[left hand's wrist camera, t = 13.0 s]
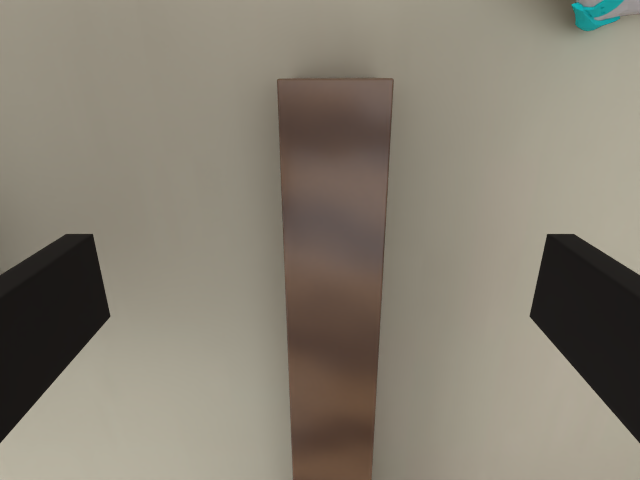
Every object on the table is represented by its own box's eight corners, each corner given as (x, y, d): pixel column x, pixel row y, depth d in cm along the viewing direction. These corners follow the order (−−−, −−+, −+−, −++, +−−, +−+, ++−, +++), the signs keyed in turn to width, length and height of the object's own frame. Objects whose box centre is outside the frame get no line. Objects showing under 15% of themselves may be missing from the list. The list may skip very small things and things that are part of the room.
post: (291, 78, 28) (276, 79, 20) (376, 77, 28) (393, 78, 20) (306, 587, 47) (301, 685, 40) (355, 588, 47) (360, 687, 40)
